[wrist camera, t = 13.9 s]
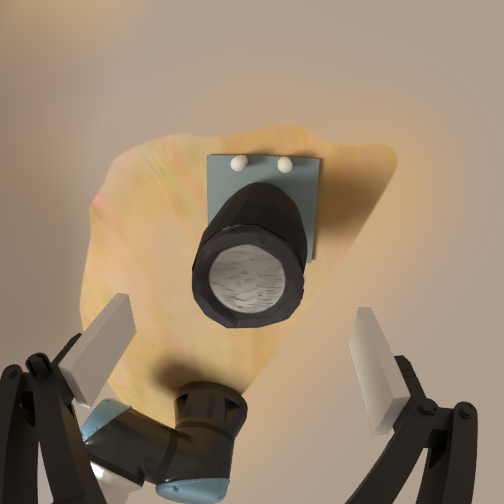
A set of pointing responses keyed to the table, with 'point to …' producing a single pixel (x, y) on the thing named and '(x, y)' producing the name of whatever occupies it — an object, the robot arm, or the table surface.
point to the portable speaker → (251, 259)
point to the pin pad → (266, 171)
